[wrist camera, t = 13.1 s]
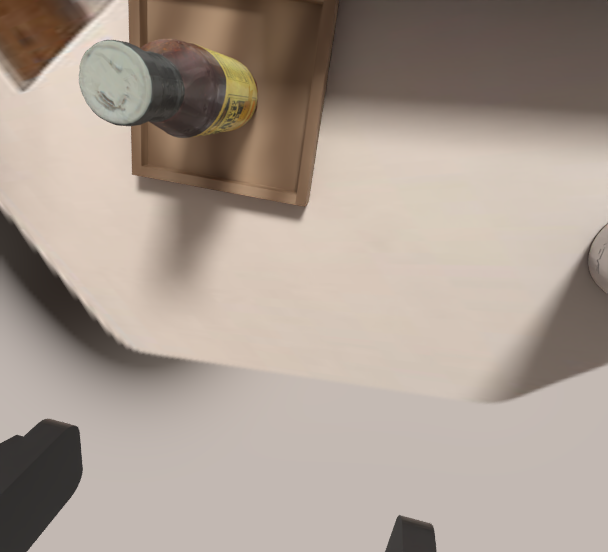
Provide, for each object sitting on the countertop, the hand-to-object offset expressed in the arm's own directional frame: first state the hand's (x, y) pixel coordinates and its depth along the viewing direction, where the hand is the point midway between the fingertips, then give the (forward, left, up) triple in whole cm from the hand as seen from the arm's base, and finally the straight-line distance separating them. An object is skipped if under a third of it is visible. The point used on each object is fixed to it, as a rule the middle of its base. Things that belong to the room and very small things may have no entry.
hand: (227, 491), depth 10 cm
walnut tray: (+12, -8, -35) cm, 38 cm away
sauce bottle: (+12, -8, -35) cm, 37 cm away
